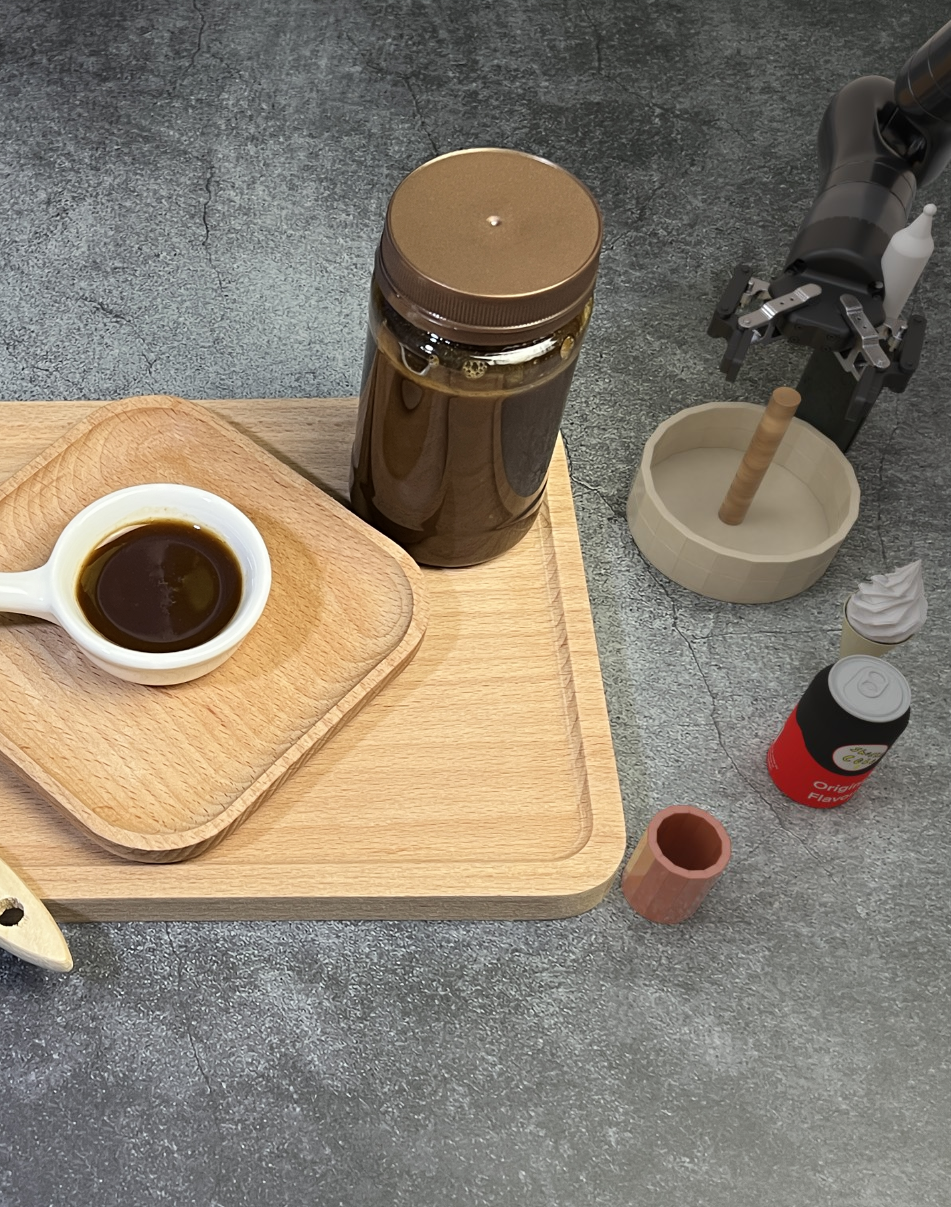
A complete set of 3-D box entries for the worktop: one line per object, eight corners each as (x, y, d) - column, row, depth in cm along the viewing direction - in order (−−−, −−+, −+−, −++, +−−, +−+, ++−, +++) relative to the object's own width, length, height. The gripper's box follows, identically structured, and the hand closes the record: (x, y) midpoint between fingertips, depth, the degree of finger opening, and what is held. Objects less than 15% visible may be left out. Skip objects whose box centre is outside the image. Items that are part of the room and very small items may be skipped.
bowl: (867, 505, 117) (893, 460, 113) (783, 638, 110) (807, 597, 106) (680, 418, 123) (698, 372, 119) (590, 539, 116) (605, 496, 112)
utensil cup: (710, 885, 99) (745, 833, 92) (675, 943, 96) (709, 894, 90) (640, 843, 101) (670, 790, 94) (605, 900, 98) (633, 849, 92)
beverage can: (745, 778, 103) (801, 690, 93) (789, 721, 106) (848, 630, 96) (827, 831, 101) (893, 746, 91) (869, 771, 103) (938, 683, 93)
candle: (807, 411, 123) (926, 172, 103) (855, 447, 120) (986, 209, 100) (766, 437, 121) (878, 200, 101) (814, 475, 119) (938, 238, 99)
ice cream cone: (830, 714, 106) (910, 596, 94) (791, 660, 109) (864, 539, 97) (889, 694, 107) (976, 575, 95) (849, 641, 110) (929, 519, 97)
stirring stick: (747, 522, 116) (806, 403, 104) (725, 528, 116) (781, 408, 104) (736, 504, 117) (792, 384, 106) (713, 509, 117) (767, 389, 105)
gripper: (764, 189, 109) (707, 323, 101) (962, 242, 105) (918, 387, 97) (735, 266, 115) (679, 398, 107) (921, 319, 111) (876, 461, 103)
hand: (792, 392), depth 102 cm, fingers open, 8 cm apart
